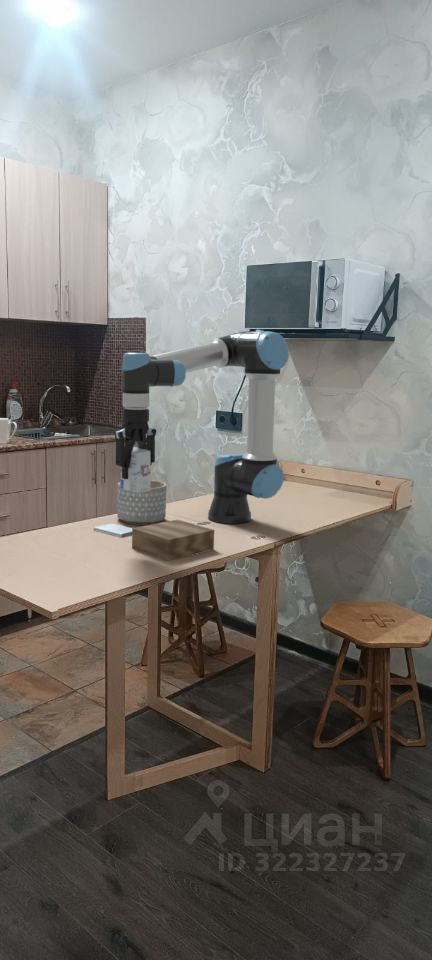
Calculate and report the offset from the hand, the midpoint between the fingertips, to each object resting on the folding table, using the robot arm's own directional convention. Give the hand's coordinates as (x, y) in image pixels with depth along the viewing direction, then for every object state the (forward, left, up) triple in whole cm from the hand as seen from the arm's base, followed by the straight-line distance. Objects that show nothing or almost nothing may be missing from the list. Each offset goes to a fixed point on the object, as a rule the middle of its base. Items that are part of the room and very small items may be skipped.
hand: (135, 488), depth 202 cm
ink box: (0, 0, -1) cm, 1 cm away
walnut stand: (-9, +7, -18) cm, 21 cm away
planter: (-24, -26, -18) cm, 40 cm away
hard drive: (-8, -19, -19) cm, 28 cm away
